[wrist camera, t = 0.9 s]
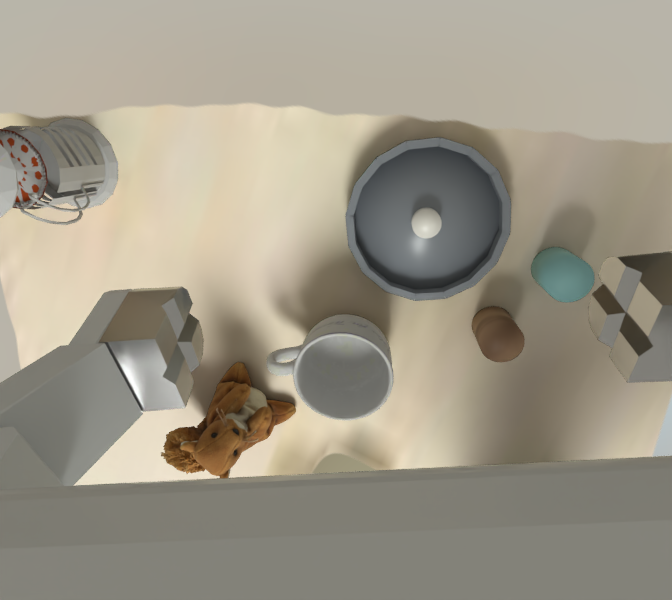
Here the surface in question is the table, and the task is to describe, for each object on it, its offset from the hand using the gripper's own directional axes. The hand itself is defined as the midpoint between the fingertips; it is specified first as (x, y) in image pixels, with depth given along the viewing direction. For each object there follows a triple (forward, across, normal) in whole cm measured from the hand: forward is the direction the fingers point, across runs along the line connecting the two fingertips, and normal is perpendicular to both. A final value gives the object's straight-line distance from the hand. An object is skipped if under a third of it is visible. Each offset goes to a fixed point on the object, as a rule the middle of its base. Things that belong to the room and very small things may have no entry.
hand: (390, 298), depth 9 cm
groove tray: (+37, +7, -18) cm, 42 cm away
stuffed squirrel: (+32, -17, -41) cm, 55 cm away
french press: (+43, -31, -12) cm, 54 cm away
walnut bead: (+32, +15, -30) cm, 46 cm away
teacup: (+33, -4, -32) cm, 47 cm away
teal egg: (+34, +21, -24) cm, 46 cm away
